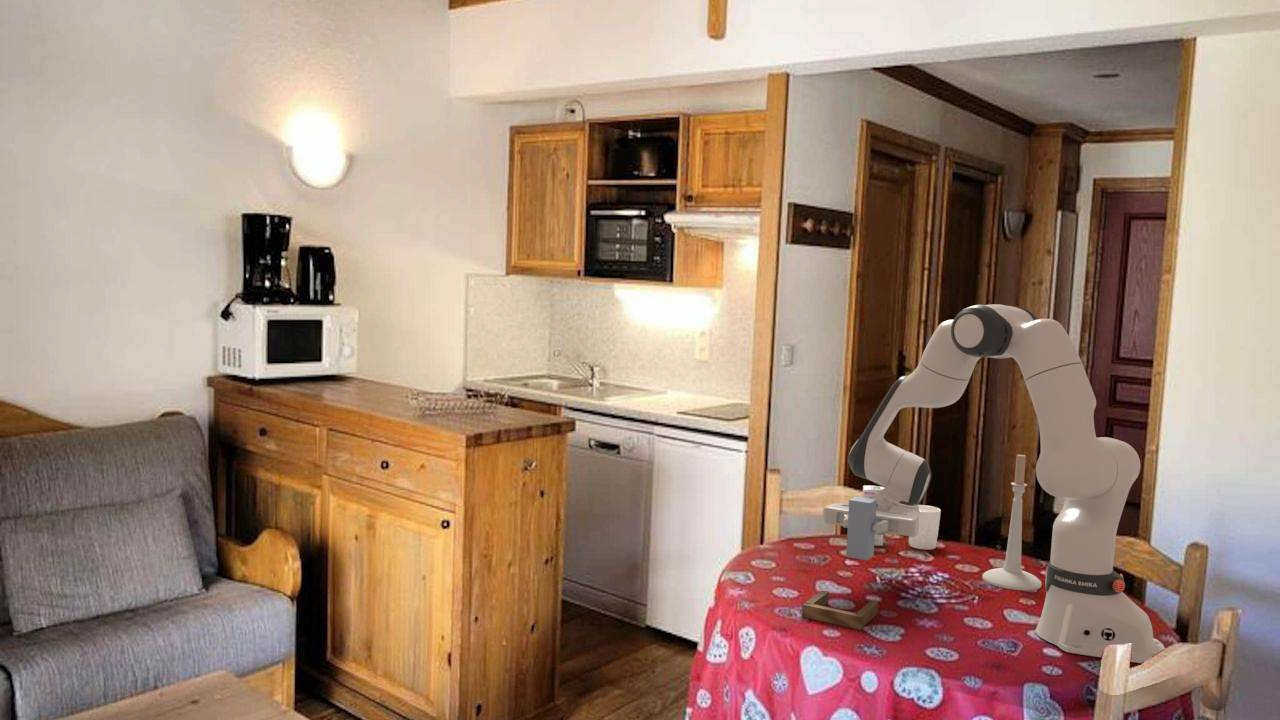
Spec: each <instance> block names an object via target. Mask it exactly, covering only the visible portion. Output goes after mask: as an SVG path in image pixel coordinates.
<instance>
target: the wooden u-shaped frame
mask: <svg viewBox="0 0 1280 720" xmlns="http://www.w3.org/2000/svg"><path fill="white" fill-rule="evenodd" d="M829 594H830V591H826V590H823V589H822V590H820V591H819V592H818V593H816V594H815V595H813V596H812V597H811V598H809V599H808V600H807V601H805V602H804V603H803V604H802V608H801V609H802V610H801V611H802V612H801V613H802V614H801V618H804V619H805V618H806V619H811V620H815V621H820V622H824V623H827V624H828V623H829V624H833V625H837V626H842V627H847V628H852V629H856V630H859V631H860V630H862V629H864V627H865V626H866V625H867V624H868V623H870V621H872V620H873V619H874V618H875V617H876V616H877V615H878V614H879V612H878V611H879V601H876V600H870V601H868V603H867V604H865V605H864V606H862V608H861V609H860V610H858V611H857V612H852V611H847V610H842V609H837V608H833V607H828V606H827V605H828V604H829Z"/></svg>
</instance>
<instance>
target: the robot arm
mask: <svg viewBox="0 0 1280 720" xmlns="http://www.w3.org/2000/svg"><path fill="white" fill-rule="evenodd" d="M921 355H922V356H921V358H920V360H919V362H918V365H917V367H916V368H915V369H914V370H913V372H911V373H910V374H909V375H901V376H900V377H899V378H898V379H897V380H896V381H895V382H893V384H892V385H891V387H890V388H889V390H888V391H887V393H886V394H885V396H884V397H883V399H882V401H881V402H880V404H879V405H878V407H877V409H876V411H875V412H874V413H873V416H872V417H871V419H870V420H869V422H868V424H867V425H866V427H865V428H864V431H863V432H862V434H860V437H859V438H858V439H857V440H856V441H855V443H854V444H853V445H852V446H851V448H850V451H849V454H848V456H847V462H848V465H849V467H850V470H851V471H852V473H853V475H854V476H855V477H856V476H857V477H859V478H862V479H865V480H867V481H871V482H873V483H874V484H877V485H879V486H881V487H884V489H882V490H880V491H878V492H877V493H875V494H873V495H871V496H869V497H867V498H871V499H877V505H876V522H873V523H872V524H871V532H875V535H883V536H885V535H898V536H905V537H908V538H909V537H915V536H916V535H917V534H918V528H919V506H918V505H920V503H921V502H922V500H923V499H924V498H925V496H926V494H927V492H928V490H929V487H930V484H931V480H932V471H931V468H930V464H929V462H928V460H926V459H925V458H923V457H920V456H919V455H917V454H915V453H913V452H910V451H908V450H905V449H903V448H901V447H899V446H897V445H894V444H893V443H890V442H888V441H886V439H885V438H884V437H885V434H886V432H887V430H888V429H889V427H890V426H891V424H892V423H893V421H894V419H895V418H896V416H897V414H898V413H899V411H900V410H902V409H905V408H926V409H938V408H945V407H948V406H950V405H953V404H955V403H956V402H957V401H959V400H960V398H961V397H962V396H963V394H964V392H965V390H966V389H967V386H968V385H969V382H970V380H971V377H972V374H973V372H974V369H975V366H976V364H977V363H978V362H979V360H980V359H981V358H992V359H997V360H998V359H1009V358H1012V359H1014V361H1015V362H1016V363H1017V364H1018V366H1019V368H1020V372H1021V374H1022V377H1023V381H1024V382H1025V386H1026V388H1027V391H1028V394H1029V397H1030V400H1031V402H1032V405H1033V409H1034V412H1035V415H1036V417H1037V418H1036V419H1037V422H1038V430H1039V438H1040V439H1039V440H1040V441H1039V443H1040V453H1039V457H1038V459H1037V461H1036V465H1035V475H1036V478H1037V481H1038V483H1039V485H1040V487H1041V488H1042V489H1043V490H1044V491H1045V493H1047V494H1049V495H1050V496H1053V497H1055V498H1060V499H1063V500H1065V501H1064V503H1063V506H1062V508H1061V511H1060V512H1059V514H1058V515H1057V517H1056V518H1055V520H1054V522H1053V524H1052V536H1051V547H1050V560H1049V561H1048V563H1047V567H1046V571H1045V582H1044V583H1045V585H1044V586H1045V590H1046V593H1045V599H1044V604H1043V608H1042V611H1041V615H1040V618H1039V621H1038V623H1037V625H1036V628H1035V633H1036V634H1037V636H1038V637H1039V638H1041V639H1043V640H1045V642H1048V643H1051V644H1053V645H1055V646H1057V647H1058V648H1059V649H1061V650H1062V651H1064V652H1066V653H1070V654H1077V655H1082V656H1088V657H1097V658H1102V657H1101V655H1102V651H1103V649H1104V648H1105V647H1106V646H1108V645H1111V644H1122V643H1132V659H1131V662H1130V663H1135V664H1136V663H1137V664H1142V662H1143V661H1145V660H1147V659H1149V658H1151V657H1152V656H1154V655H1155V654H1157V653H1158V652H1160V651H1161V650H1163V649H1165V648H1166V647H1165V646H1164V644H1163V643H1162V642H1161V641H1160V640H1159V639H1157V638H1154V631H1153V626H1152V622H1151V620H1150V617H1149V616H1148V614H1147V613H1146V612H1145V611H1144V610H1143V609H1142V608H1140V606H1138V605H1137V604H1136V603H1135V602H1134V601H1133V600H1131V598H1130V597H1128V596H1127V595H1126V594H1125V593H1124V592H1123V591H1125V588H1126V584H1125V578H1124V575H1123V574H1122V573H1120V574H1119V573H1118V572H1117V571H1115V570H1114V560H1115V551H1116V539H1117V533H1118V532H1117V531H1118V529H1119V524H1120V520H1121V517H1122V514H1123V511H1124V508H1125V505H1126V501H1127V499H1128V496H1129V492H1130V490H1131V487H1132V486H1133V484H1134V483H1135V481H1136V479H1138V477H1139V475H1140V472H1141V460H1140V457H1139V454H1138V452H1137V451H1136V449H1135V448H1133V446H1132V445H1130V444H1129V443H1128V442H1126V441H1122V440H1119V439H1116V438H1114V437H1113V438H1112V437H1107V436H1104V437H1103V436H1101V437H1097V435H1096V428H1095V418H1094V415H1095V409H1096V407H1097V399H1096V396H1095V393H1094V391H1093V388H1092V385H1091V382H1090V380H1089V376H1088V375H1087V371H1086V370H1085V367H1084V365H1083V362H1082V360H1081V357H1080V355H1079V352H1078V351H1077V349H1076V347H1075V344H1074V343H1073V341H1072V339H1071V337H1070V335H1069V334H1068V332H1067V331H1066V329H1065V328H1064V327H1063V325H1062V323H1060V322H1059V321H1057V320H1055V319H1053V318H1039V316H1038V315H1037V314H1035V313H1034V312H1033V311H1031V310H1029V309H1027V308H1025V307H1021V306H1011V305H1004V304H997V303H996V304H995V303H993V304H985V305H984V304H975V305H971V306H968V307H966V308H963V309H962V310H961V311H959V312H958V313H957V314H956V316H954V318H953V319H948V320H945V321H942V322H941V323H940V324H939V325H938V326H937V327H936V329H935V330H934V331H933V334H932V335H931V337H930V338H929V340H928V343H927V344H926V347H925V349H924V350H923V353H922V354H921ZM822 511H823V513H822V520H823V522H824V523H826V524H827V525H828V524H829V525H833V526H835V525H836V526H841V527H843V528H844V529H845V528H846V529H848V512H849V503H844V502H834V503H830V504H828V505H825V506H824V507H823V510H822ZM1165 650H1166V649H1165Z"/></svg>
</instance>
